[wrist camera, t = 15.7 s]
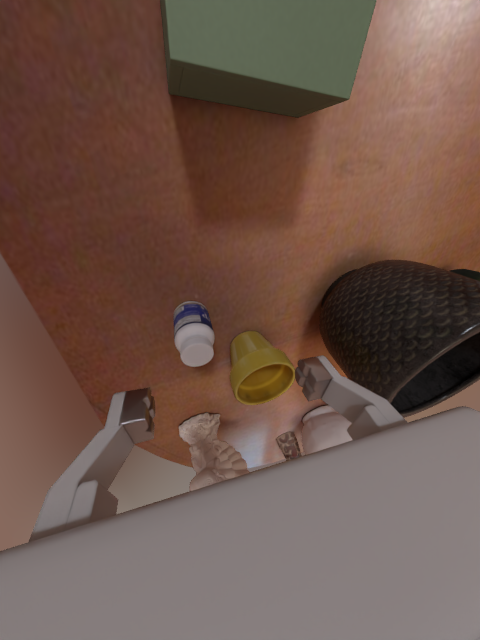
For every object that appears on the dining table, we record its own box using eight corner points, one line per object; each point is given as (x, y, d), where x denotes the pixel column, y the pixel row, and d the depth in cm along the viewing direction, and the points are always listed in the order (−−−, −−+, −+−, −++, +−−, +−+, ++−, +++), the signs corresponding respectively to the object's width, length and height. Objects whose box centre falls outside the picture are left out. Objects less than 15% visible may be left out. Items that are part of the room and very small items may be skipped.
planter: (388, 214, 30) (592, 260, 16) (397, 294, 43) (516, 362, 28) (282, 295, 34) (368, 393, 19) (318, 348, 46) (388, 432, 32)
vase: (328, 388, 60) (425, 525, 37) (349, 405, 73) (431, 514, 50) (279, 421, 65) (341, 561, 42) (307, 431, 78) (366, 542, 55)
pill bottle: (211, 322, 33) (222, 363, 26) (180, 331, 32) (183, 375, 26) (203, 295, 30) (213, 334, 23) (167, 305, 29) (167, 348, 22)
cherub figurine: (211, 403, 47) (232, 516, 32) (236, 418, 55) (263, 514, 40) (167, 430, 49) (167, 549, 34) (198, 441, 57) (209, 541, 42)
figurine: (280, 433, 71) (297, 473, 62) (296, 430, 74) (315, 467, 64) (273, 443, 75) (288, 481, 66) (289, 439, 77) (305, 476, 68)
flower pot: (281, 327, 39) (309, 366, 31) (256, 364, 43) (275, 405, 36) (235, 316, 34) (254, 359, 26) (212, 359, 38) (223, 405, 31)
